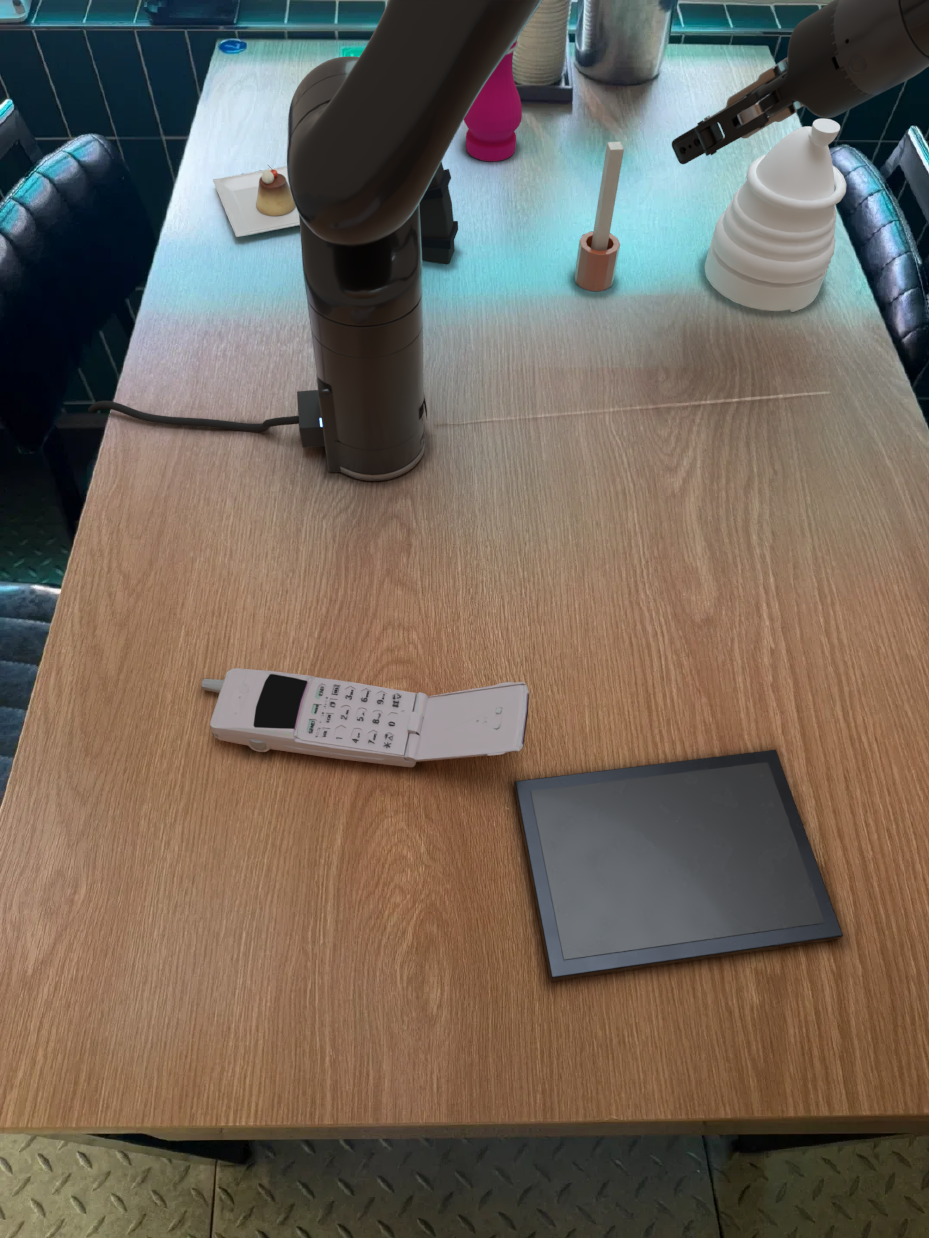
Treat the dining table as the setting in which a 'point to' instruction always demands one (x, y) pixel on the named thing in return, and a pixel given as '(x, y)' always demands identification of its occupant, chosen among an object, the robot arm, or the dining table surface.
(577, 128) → the dining table surface
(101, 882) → the dining table surface
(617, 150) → the stylus
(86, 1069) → the dining table surface
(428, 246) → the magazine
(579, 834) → the tablet
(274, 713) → the mobile phone
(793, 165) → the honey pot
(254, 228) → the dessert
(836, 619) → the dining table surface
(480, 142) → the pepper mill
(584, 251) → the pen holder
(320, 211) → the robot arm
